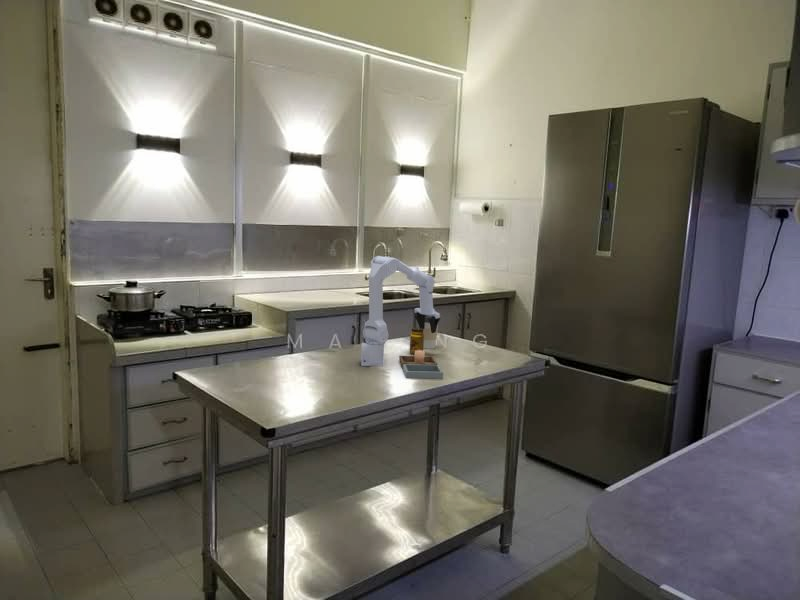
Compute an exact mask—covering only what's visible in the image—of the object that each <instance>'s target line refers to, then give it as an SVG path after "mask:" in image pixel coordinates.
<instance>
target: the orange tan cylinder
mask: <svg viewBox="0 0 800 600" xmlns="http://www.w3.org/2000/svg"><path fill="white" fill-rule="evenodd" d="M425 353H426V352H425V350H424V349H423V350H415V355H414V356H415V358H414V363H424V356H426V354H425Z"/></svg>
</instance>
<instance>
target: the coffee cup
mask: <svg viewBox="0 0 800 600" xmlns="http://www.w3.org/2000/svg"><path fill="white" fill-rule="evenodd" d="M428 318H432V317H431V316H427V315H426V316H425V328H424V329H423V335H424V347H423V349H424V348H427V350H432V349H433V350H434V349H436V344H437V338H438V330H439V324H438V325H437V329H436V332H435V333H431V327H430V323H429V320H428Z"/></svg>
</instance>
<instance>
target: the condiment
mask: <svg viewBox="0 0 800 600" xmlns="http://www.w3.org/2000/svg"><path fill="white" fill-rule="evenodd" d="M423 347H424V335H423V329H422V328H419V327H412V328H411V331H410V336H409V355H410V356H415V350H423V351H424V348H423ZM425 355H428V353H427V352H425Z"/></svg>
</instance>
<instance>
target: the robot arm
mask: <svg viewBox="0 0 800 600" xmlns="http://www.w3.org/2000/svg"><path fill="white" fill-rule="evenodd" d="M369 271H370V272H369V275H368V320H366V321H365V322H364V328H363V330H362V335H363V339H365V342H361V346H360V356H359V359H360V360H359V361H360V365H361V367H371V366H386V365H385V361H384V356H385V355H384V354H385V353H384V351H385V344H386V342H387V341H388V339H389V331H388V325H387V323H386V322H385V320H384V317H383V316H384V314H383V313H384V309H383V308H384V307H383V306H384V302H383V301H384V296H383V294H384V292H383V287H384V284H383V283H384V280H385V279H387V278H388V277H389V278H390V276H392V275H393V274H395V273H396V272H400V273H401V274H404V275H406V279H407V280H409V281H410V282H413V283H415V285H416V286H417V287H418V290H419V291H418V293H419V294H418V295H419V296H418V297H419V307H416V308H414V313H415V314H413V316H414V318H415V320H416V322H417V324H418V328H422V329H424V328H425V316H426V315H427V316H431V317H432V318H428V320H429V323H430V327H431V333H435V332H436V329H437V325H438V326H439V322H440V320H441V314H440V312H437V311H436V310H435V308H434V299H433V298H434V297H433V291H434V286H435V283H436V280H435V279H434V277H433V276H432V275H430V274H426V272H425V271H422V270H420V268H419V267H417V266H414V267H413V266H412V267H409V266H408V265H407V264H405V263H404V262H402V261H401V260H400V259H397V258H395V257H390V256H389V257H387V256H381V255H376V256H375V257H374V258H372V259H371V261H370V270H369Z"/></svg>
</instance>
